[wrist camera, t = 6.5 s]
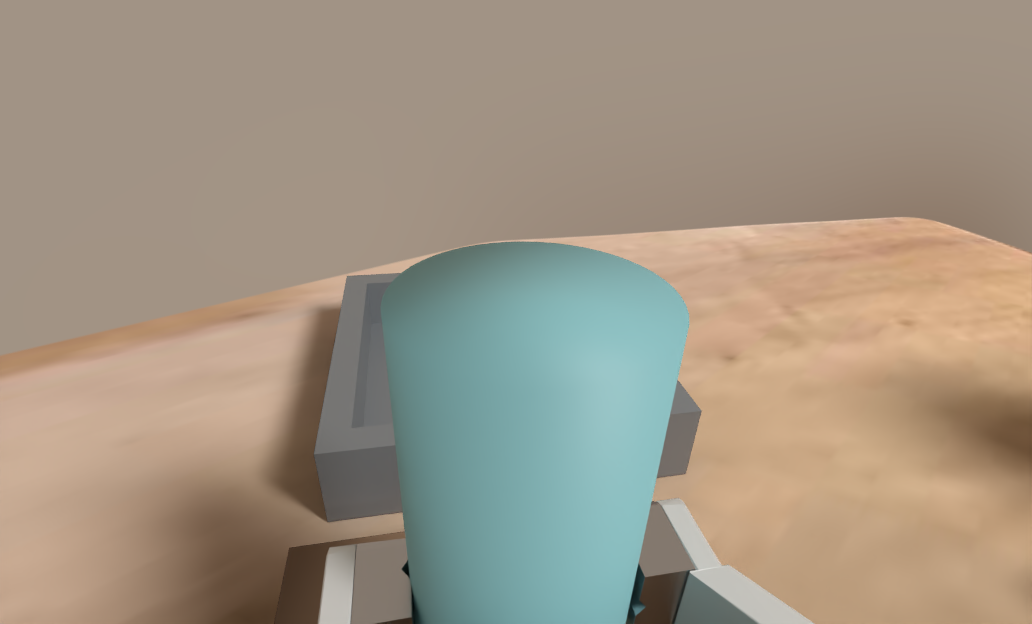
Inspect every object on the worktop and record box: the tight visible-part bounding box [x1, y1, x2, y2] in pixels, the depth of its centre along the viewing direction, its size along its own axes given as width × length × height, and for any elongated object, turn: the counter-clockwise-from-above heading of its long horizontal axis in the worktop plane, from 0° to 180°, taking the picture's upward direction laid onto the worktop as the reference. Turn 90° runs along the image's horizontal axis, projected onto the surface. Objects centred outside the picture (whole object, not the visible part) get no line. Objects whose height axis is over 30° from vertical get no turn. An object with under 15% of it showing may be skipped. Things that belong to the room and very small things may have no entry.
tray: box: [314, 273, 701, 522], centre depth 27 cm, size 15×15×4 cm
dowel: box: [381, 242, 689, 624], centre depth 10 cm, size 4×4×14 cm
